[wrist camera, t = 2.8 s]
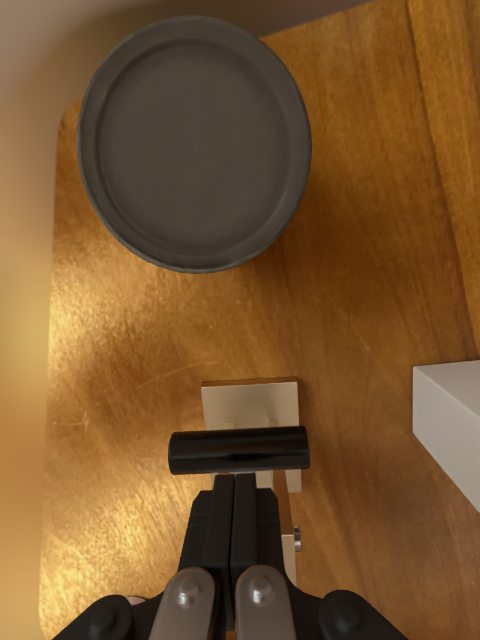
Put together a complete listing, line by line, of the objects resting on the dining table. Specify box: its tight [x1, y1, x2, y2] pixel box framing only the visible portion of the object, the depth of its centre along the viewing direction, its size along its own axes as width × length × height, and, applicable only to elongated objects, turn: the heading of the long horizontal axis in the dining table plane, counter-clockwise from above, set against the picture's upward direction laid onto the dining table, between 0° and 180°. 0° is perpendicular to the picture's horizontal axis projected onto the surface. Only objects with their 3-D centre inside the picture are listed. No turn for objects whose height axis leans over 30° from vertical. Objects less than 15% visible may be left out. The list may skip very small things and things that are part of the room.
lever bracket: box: [201, 377, 302, 587], centre depth 27 cm, size 12×9×14 cm
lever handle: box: [168, 425, 310, 477], centre depth 18 cm, size 13×6×2 cm, turn 5°
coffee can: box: [77, 16, 312, 274], centre depth 21 cm, size 10×10×14 cm
